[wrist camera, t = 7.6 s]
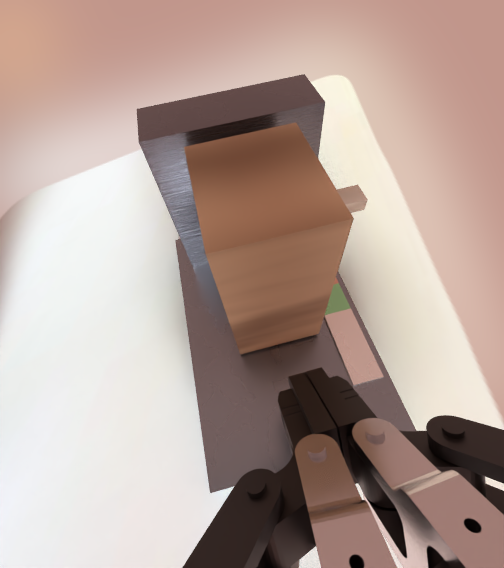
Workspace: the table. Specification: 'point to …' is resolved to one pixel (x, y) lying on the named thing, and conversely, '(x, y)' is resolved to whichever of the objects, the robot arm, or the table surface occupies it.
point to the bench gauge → (208, 305)
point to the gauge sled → (270, 231)
